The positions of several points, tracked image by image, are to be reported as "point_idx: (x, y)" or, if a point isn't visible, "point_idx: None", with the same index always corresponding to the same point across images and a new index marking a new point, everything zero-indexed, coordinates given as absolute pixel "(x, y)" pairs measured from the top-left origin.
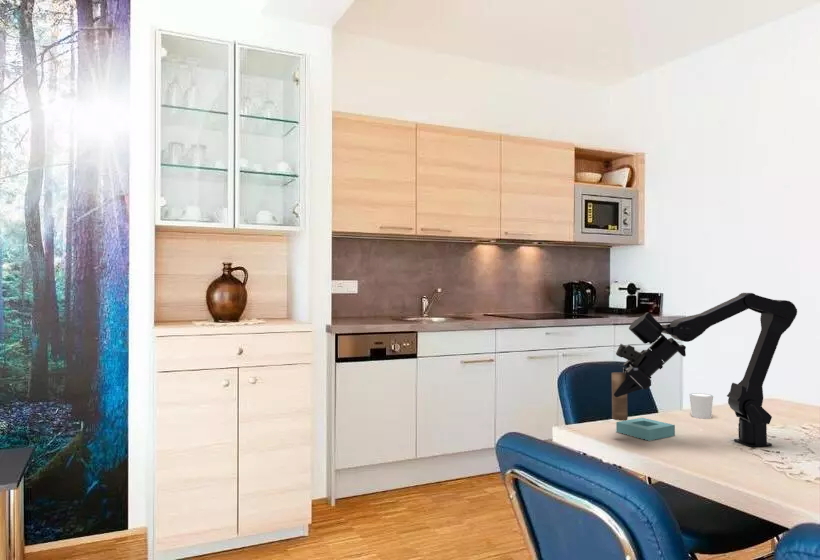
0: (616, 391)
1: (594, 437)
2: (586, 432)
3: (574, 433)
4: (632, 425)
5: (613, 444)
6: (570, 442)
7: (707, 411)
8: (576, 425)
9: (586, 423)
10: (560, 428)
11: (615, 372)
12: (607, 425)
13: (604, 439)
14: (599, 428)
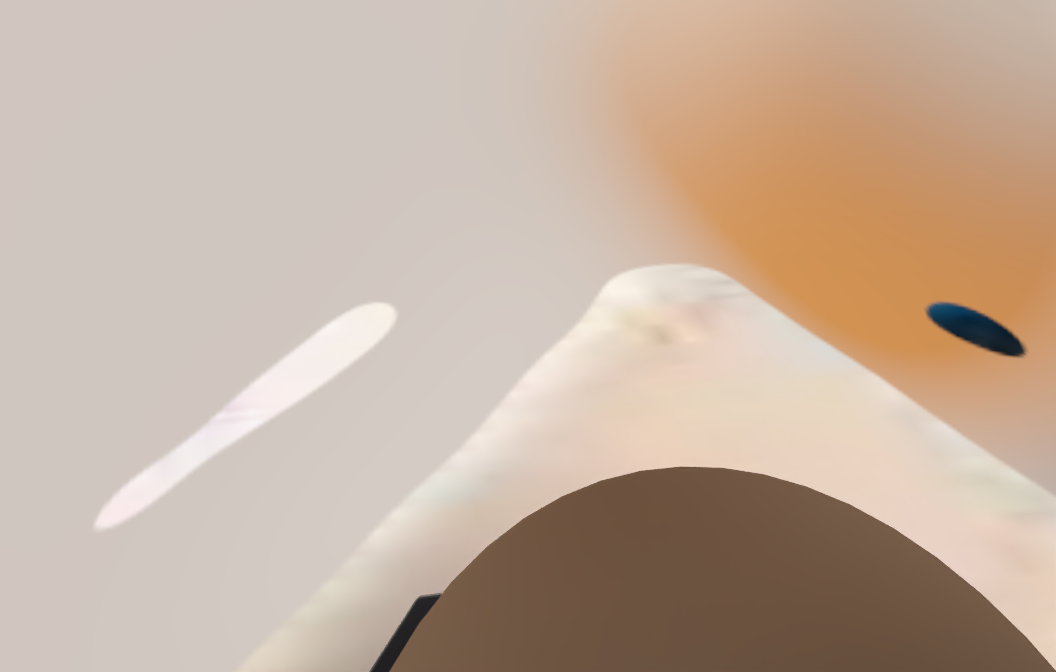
0: (379, 664)
1: (533, 462)
2: (640, 404)
3: (584, 345)
4: None
5: (381, 604)
6: (371, 347)
7: None
8: (784, 336)
9: (874, 383)
10: (665, 271)
11: (975, 643)
12: (915, 517)
13: (502, 529)
14: (791, 471)
